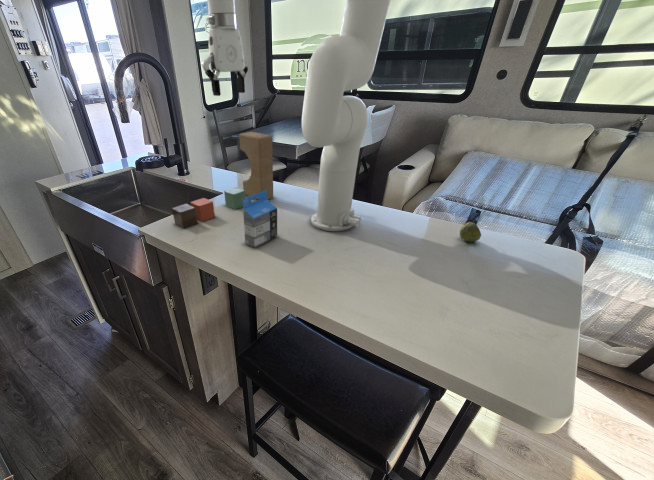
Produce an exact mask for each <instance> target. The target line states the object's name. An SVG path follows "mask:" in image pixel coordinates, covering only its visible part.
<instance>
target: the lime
mask: <svg viewBox="0 0 654 480" xmlns="http://www.w3.org/2000/svg"><path fill="white" fill-rule="evenodd" d="M459 237H460V239H461V240H463V241H466V242H468V243H475V242H477V241H479V240H480V239H481V237H482V233H481V230H480V228H479V227H478V225H477V223H475V222H472V221H469V222H466V223H465V224H464V225H462V227H461V228H460V229H459Z"/></svg>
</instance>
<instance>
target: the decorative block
mask: <svg viewBox="0 0 654 480" xmlns="http://www.w3.org/2000/svg"><path fill="white" fill-rule="evenodd" d="M238 138H239V149H240V150H241V151H242V152H243V153H244V154H245V155H246V156H247V159H248V161H249V163H250V169H251V170H250V175H249V178H247V179H245V180H243V181H242V190H245V194H246V196H247V197H248V196H251V195H254V194H256V193H259V192H262V191H264V190H267V199H268V200H270V199H273V198H274V167H273V166H274V161H273V159H274V158H273V136H272V135H270V134H265V133H260V132H256V131H248V132H242V133H239V135H238ZM254 200H256V201H257V200H259V198H256V197H255V198H254Z"/></svg>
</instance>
